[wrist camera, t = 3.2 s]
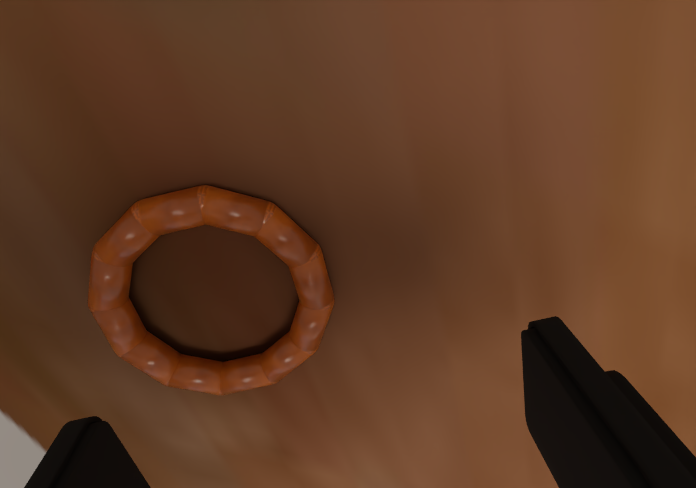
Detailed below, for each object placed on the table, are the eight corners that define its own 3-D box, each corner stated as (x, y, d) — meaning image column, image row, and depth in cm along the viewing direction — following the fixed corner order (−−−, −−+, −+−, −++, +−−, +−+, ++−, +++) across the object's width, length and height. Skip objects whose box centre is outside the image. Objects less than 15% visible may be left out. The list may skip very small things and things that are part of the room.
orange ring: (155, 395, 18) (146, 419, 17) (53, 215, 14) (33, 231, 13) (351, 351, 18) (353, 373, 16) (297, 158, 14) (296, 169, 13)
